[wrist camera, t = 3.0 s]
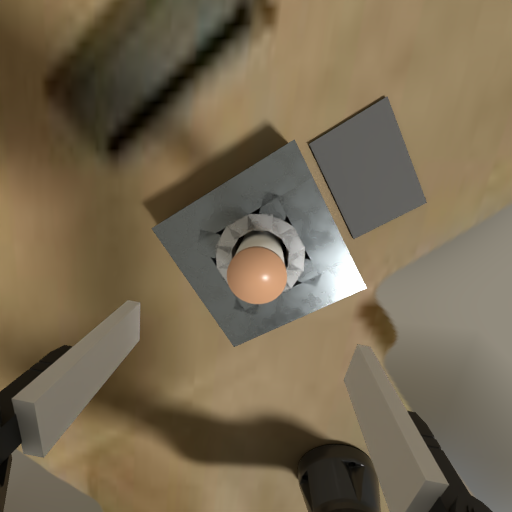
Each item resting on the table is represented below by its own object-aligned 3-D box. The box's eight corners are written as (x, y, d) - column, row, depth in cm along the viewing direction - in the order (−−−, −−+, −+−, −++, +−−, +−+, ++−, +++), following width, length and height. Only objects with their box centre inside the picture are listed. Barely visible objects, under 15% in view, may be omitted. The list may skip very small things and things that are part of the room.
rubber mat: (424, 202, 31) (426, 202, 31) (353, 238, 33) (353, 238, 33) (385, 97, 28) (387, 96, 28) (308, 144, 30) (309, 143, 30)
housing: (353, 273, 35) (366, 288, 30) (238, 326, 39) (234, 346, 35) (291, 145, 30) (294, 139, 26) (168, 221, 35) (151, 228, 30)
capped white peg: (290, 255, 35) (297, 288, 24) (253, 274, 36) (246, 313, 26) (269, 218, 33) (268, 237, 23) (232, 239, 35) (215, 265, 24)
